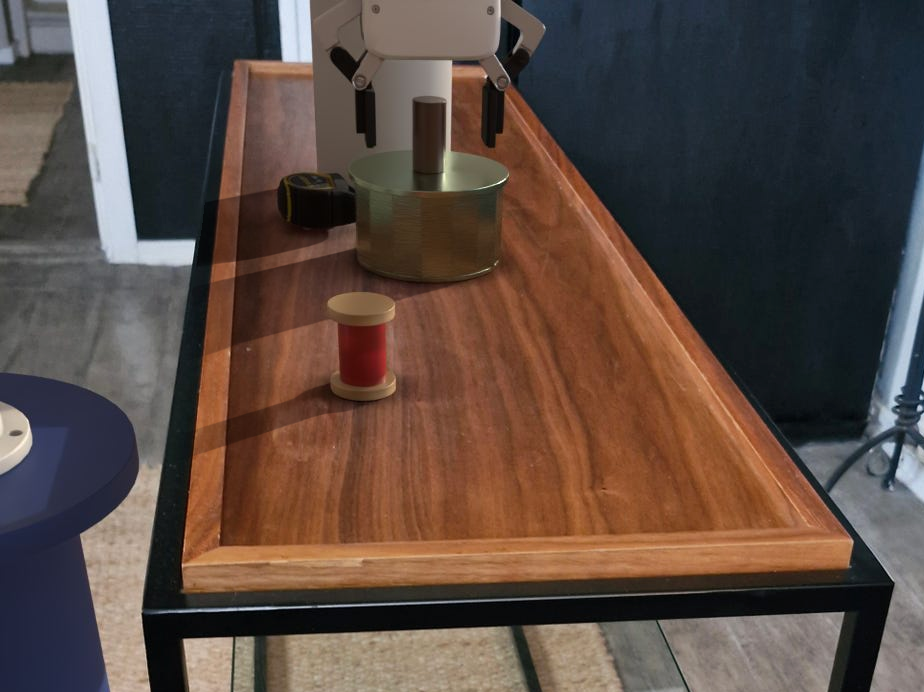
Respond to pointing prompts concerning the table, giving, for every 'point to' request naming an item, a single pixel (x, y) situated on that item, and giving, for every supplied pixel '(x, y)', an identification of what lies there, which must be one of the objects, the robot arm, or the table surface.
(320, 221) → the tape measure
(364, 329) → the spool
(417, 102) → the lid
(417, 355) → the table surface
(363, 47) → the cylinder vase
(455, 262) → the sewing tin
